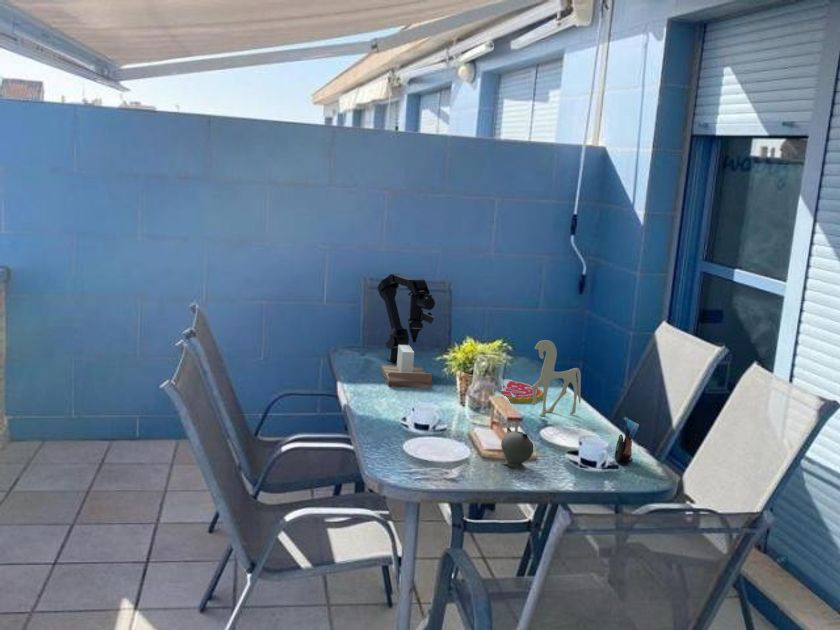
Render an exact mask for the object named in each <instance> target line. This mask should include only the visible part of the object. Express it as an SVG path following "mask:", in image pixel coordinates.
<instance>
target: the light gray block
mask: <svg viewBox="0 0 840 630" xmlns="http://www.w3.org/2000/svg"><path fill="white" fill-rule="evenodd" d="M414 358H415V351H414V350H413V348H412V347H411V346H410V344H408V345H398V356H397V362H396V366H397V368H398V370H399V372H408V373H413V366H414V361H415V359H414Z"/></svg>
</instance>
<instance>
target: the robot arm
mask: <svg viewBox="0 0 840 630" xmlns="http://www.w3.org/2000/svg"><path fill="white" fill-rule="evenodd" d="M400 286H404V287H406V288H407V290H408V291H410V292H409V293H408V294H407V295H408V296H410V300H409V316H408V317H407V324H408V329H409V330H408V329H407V328H404V327H403V326H402V325H403V324H402V322H401V317H400V313H399V311H398V305H397V302H396V297H397V294H398V292H397V290H398V288H399V287H400ZM377 292H378V295H379V296H380V298H381V299H382V300H383V301H384V304H385V307H386V312H387V316H388V320H389V325H390V327H391V329H390V330H391V331H390V333H389V339H388V340H387V341H386V342H385V346H386V348H387V349H389V351H390V352H389V358H386V360H387V361H388V362H390V361H391V362H390V363H393V364H394V363H396V364H397V356H398V345H409V343H410V337H411V339H412V343H414V344H415V343H417V339H418V336H419V332H421V330H423V328H424V324H423V321H424V322H425V323H429V324H430V325H432V324H433V323H434V320H435V316H434V315H432V312H431V310H433V309H434V308H435V305H436V301H435V299H434V297H433V295H432V294H431V293H430V289H429V287H428V285H427V282H426V279H424V278H411V277H408V276H405V275H403V274H400V273H390V274H389V275H388V276H387V277H386V278H384V279H382V280H381V281H380V283H379V284H378V285H377ZM424 310H426V311H428V312H424ZM408 332H410V333H408ZM409 334H410V335H409Z"/></svg>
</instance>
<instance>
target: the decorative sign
mask: <svg viewBox="0 0 840 630" xmlns="http://www.w3.org/2000/svg"><path fill="white" fill-rule="evenodd" d="M502 380H503V387H502V390H501V394H502V395H504V396H506V397H507V398H508V399H509V401H510V402H512V404H513V403H516V404H522V403H523V404H528V403H533V391H532V386H533V385H531V384H529V383H524V382H523V381H515V380H513V379H506V378H505V379H502ZM536 397H537V402H539V401H540V400H539V399H541V400H543V390H542V389H540V387H537V388H536Z"/></svg>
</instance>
